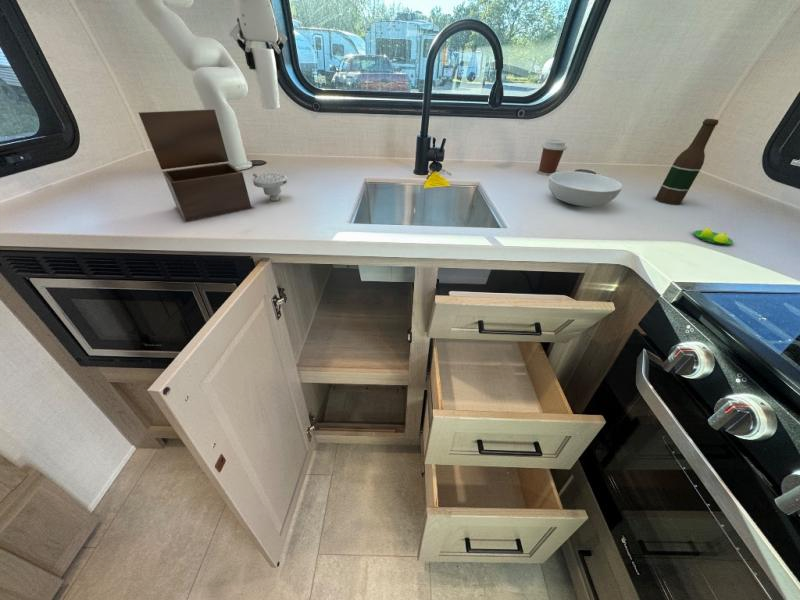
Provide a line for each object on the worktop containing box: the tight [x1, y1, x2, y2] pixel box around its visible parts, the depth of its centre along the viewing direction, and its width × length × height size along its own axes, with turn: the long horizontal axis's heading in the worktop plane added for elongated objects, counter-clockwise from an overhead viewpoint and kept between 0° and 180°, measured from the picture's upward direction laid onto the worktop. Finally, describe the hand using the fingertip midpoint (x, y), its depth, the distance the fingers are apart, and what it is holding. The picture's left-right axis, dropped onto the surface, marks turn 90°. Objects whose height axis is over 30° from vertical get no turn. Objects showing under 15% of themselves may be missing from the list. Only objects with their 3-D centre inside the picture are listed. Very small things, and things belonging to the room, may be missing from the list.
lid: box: [138, 109, 229, 171], centre depth 84 cm, size 13×17×5 cm
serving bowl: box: [548, 170, 623, 207], centre depth 100 cm, size 21×21×7 cm
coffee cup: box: [537, 138, 567, 176], centre depth 126 cm, size 9×9×12 cm
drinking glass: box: [250, 47, 281, 110], centre depth 96 cm, size 7×7×15 cm
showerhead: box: [252, 172, 288, 202], centre depth 94 cm, size 9×7×10 cm
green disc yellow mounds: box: [693, 226, 734, 245], centre depth 81 cm, size 8×8×3 cm
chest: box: [162, 163, 253, 222], centre depth 86 cm, size 12×17×10 cm
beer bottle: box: [655, 118, 719, 205], centre depth 99 cm, size 8×8×24 cm
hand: (265, 69), depth 95 cm, fingers closed on drinking glass, 6 cm apart
